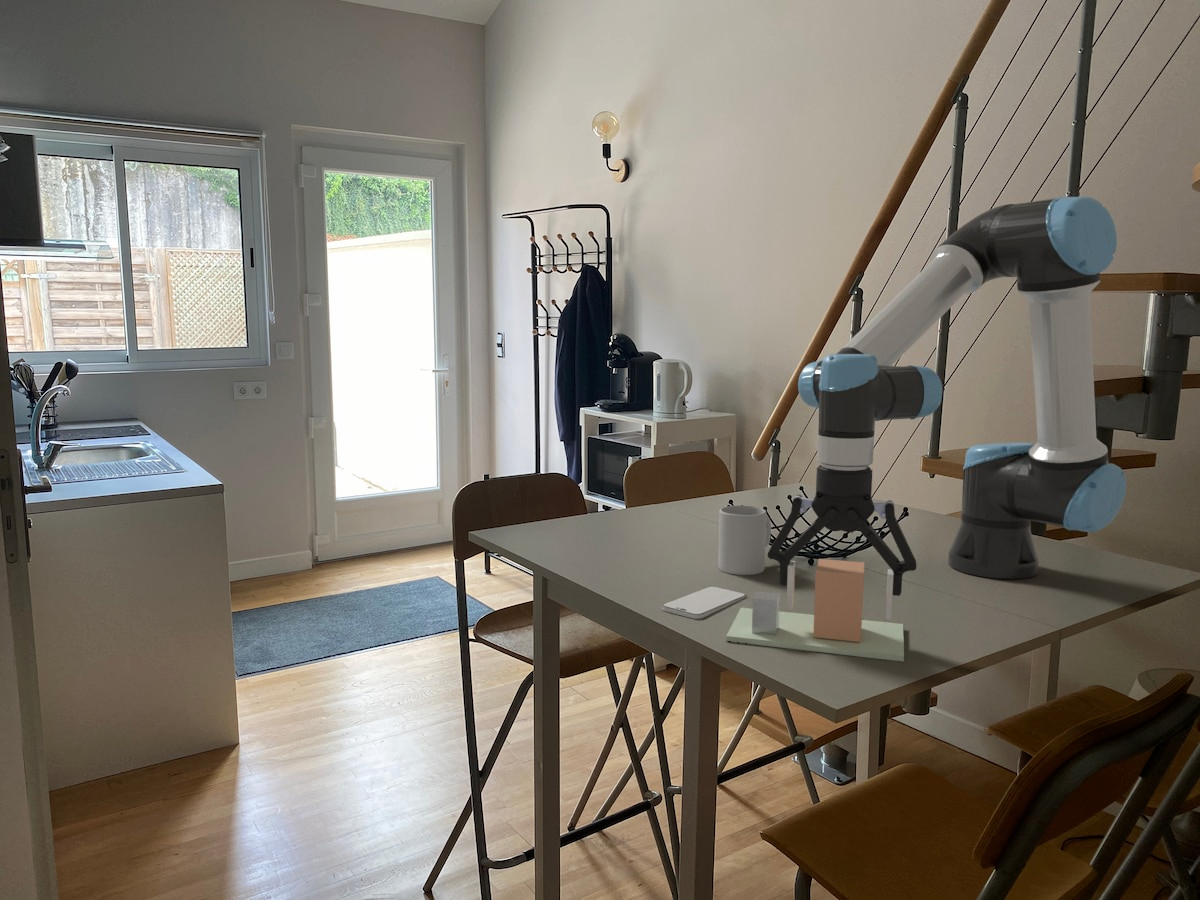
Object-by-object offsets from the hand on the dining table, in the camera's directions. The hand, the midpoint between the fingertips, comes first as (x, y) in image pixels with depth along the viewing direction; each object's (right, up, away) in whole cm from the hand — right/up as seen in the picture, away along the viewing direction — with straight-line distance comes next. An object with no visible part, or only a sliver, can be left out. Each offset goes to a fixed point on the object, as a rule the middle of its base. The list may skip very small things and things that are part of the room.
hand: (838, 611), depth 126 cm
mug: (-7, +1, +37) cm, 37 cm away
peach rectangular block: (0, -3, 0) cm, 3 cm away
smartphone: (-17, -2, +16) cm, 24 cm away
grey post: (-10, -4, +2) cm, 11 cm away
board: (-3, -4, +2) cm, 5 cm away
